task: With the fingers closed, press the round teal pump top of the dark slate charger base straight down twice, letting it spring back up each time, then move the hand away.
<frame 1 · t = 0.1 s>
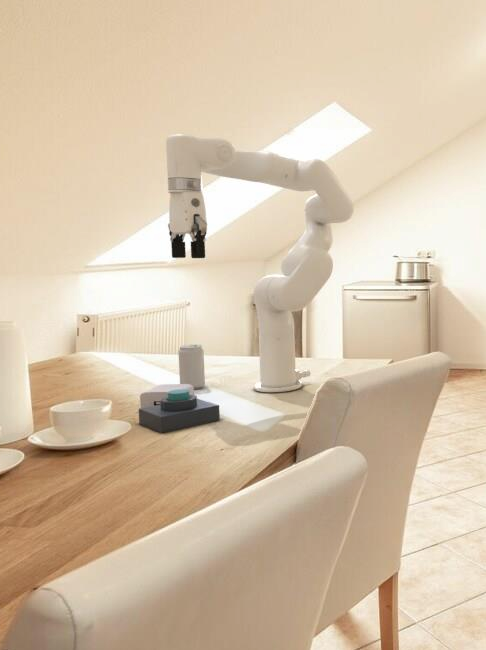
hand: (188, 257, 154), 37 cm above the table, tool pointing down, fingers open, 9 cm apart
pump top: (178, 395, 141), point 6 cm above the table, slide at 0.1 cm
beverage can: (192, 388, 177), on the table
pump base: (180, 422, 142), on the table
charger: (173, 404, 159), on the table
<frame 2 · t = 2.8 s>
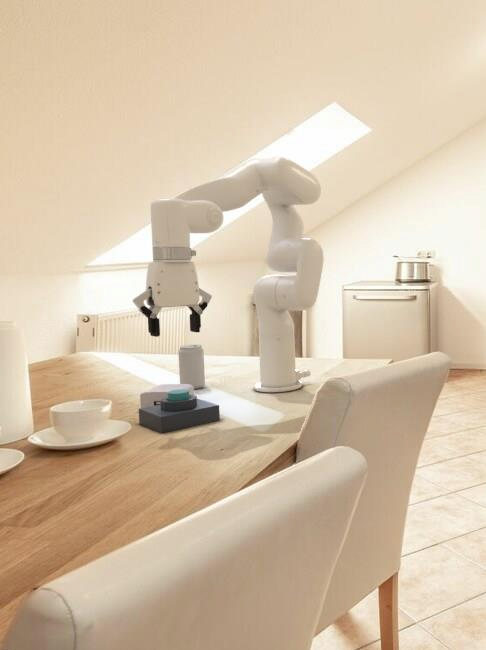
hand: (175, 333, 140), 20 cm above the table, tool pointing down, fingers open, 8 cm apart
nothing on the table moved.
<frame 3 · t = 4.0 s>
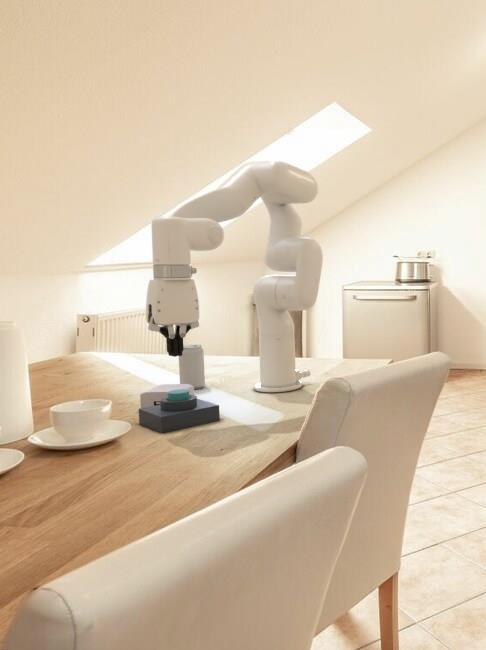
hand: (175, 355, 140), 15 cm above the table, tool pointing down, fingers closed
nothing on the table moved.
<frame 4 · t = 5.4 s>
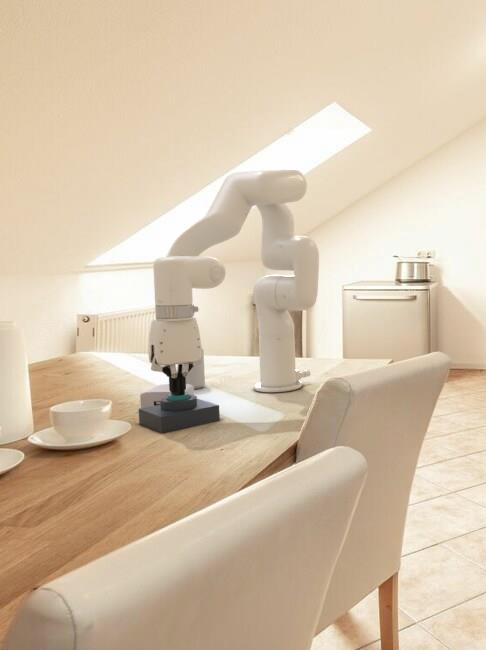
hand: (177, 394, 141), 6 cm above the table, tool pointing down, fingers closed
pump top: (178, 398, 141), point 5 cm above the table, slide at -0.5 cm, touching gripper
everything else where it was.
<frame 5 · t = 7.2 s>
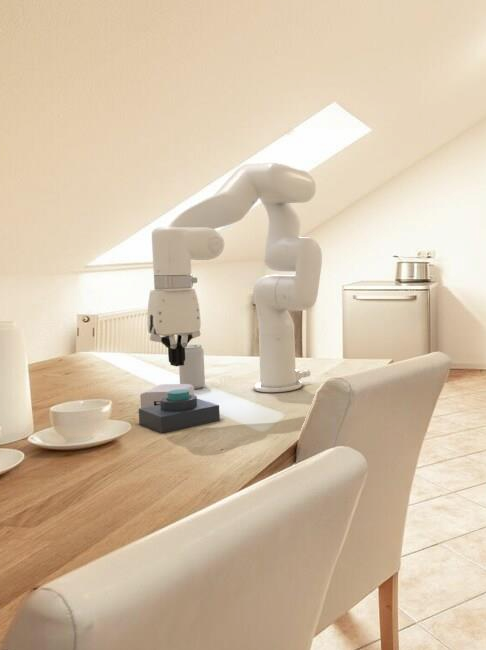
hand: (177, 365, 141), 13 cm above the table, tool pointing down, fingers closed
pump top: (178, 395, 141), point 6 cm above the table, slide at 0.1 cm
everything else where it was.
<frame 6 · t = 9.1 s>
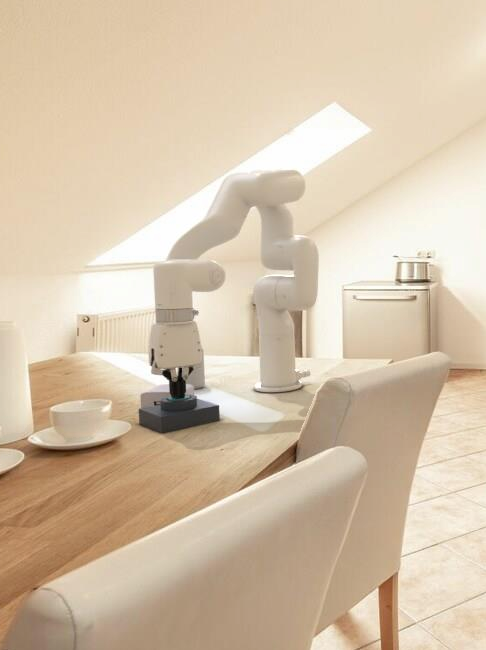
hand: (178, 397, 141), 6 cm above the table, tool pointing down, fingers closed
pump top: (179, 401, 142), point 5 cm above the table, slide at -1.3 cm, touching gripper
everything else where it was.
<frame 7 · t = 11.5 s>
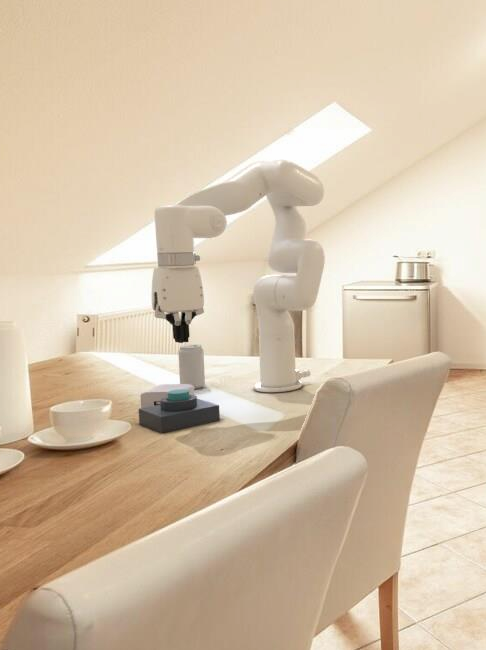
hand: (181, 341, 143), 18 cm above the table, tool pointing down, fingers closed
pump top: (178, 395, 141), point 6 cm above the table, slide at 0.1 cm
everything else where it was.
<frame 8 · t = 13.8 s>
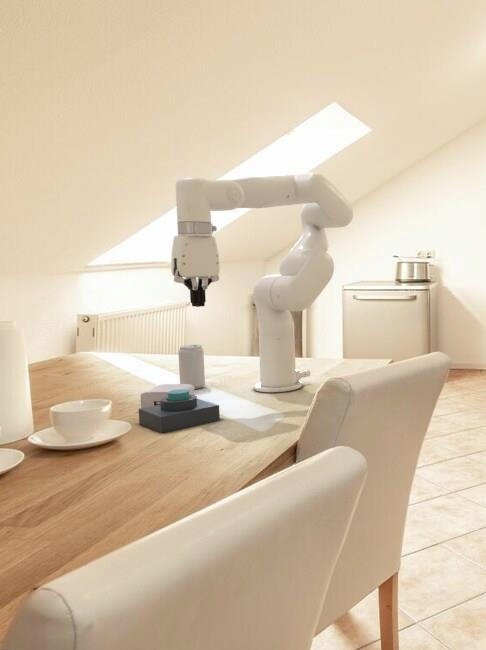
hand: (198, 306, 153), 25 cm above the table, tool pointing down, fingers closed
nothing on the table moved.
at the end: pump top pushed in 1.3 cm at the most during the clip, back to where it started at the end; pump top slide at 0.1 cm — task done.
